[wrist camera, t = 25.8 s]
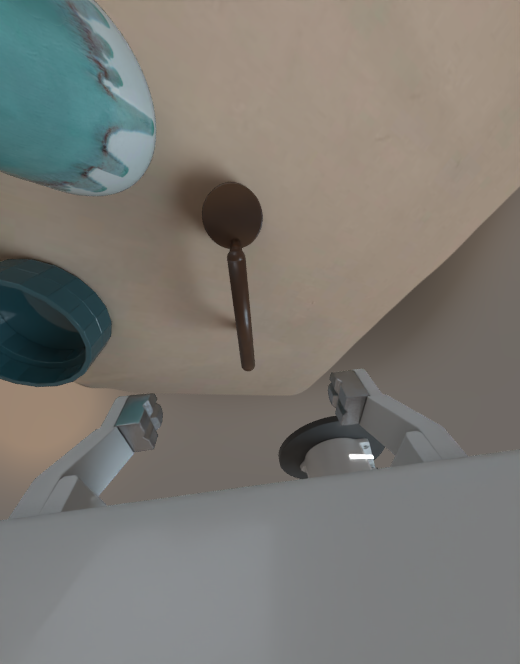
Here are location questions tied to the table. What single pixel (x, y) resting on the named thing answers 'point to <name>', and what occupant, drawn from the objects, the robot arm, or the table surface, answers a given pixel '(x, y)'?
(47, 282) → the bowl
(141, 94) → the vase
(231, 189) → the ladle
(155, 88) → the table surface
